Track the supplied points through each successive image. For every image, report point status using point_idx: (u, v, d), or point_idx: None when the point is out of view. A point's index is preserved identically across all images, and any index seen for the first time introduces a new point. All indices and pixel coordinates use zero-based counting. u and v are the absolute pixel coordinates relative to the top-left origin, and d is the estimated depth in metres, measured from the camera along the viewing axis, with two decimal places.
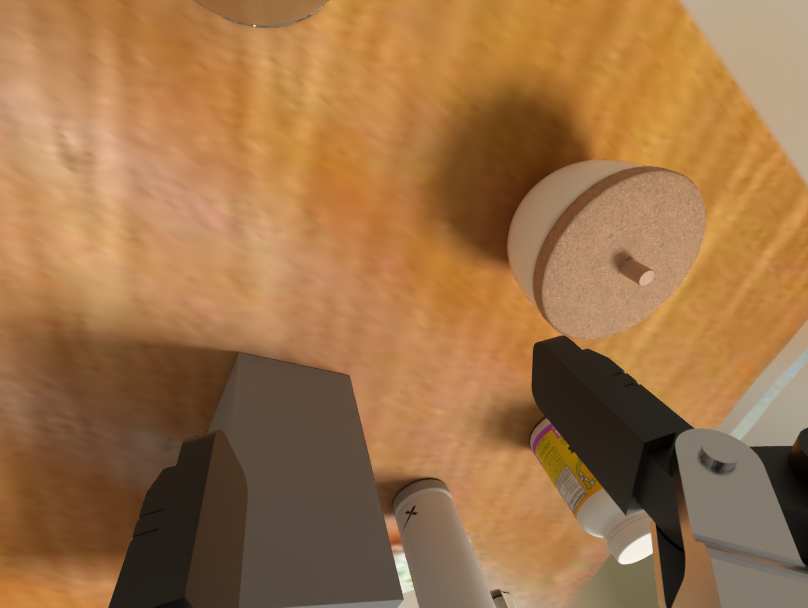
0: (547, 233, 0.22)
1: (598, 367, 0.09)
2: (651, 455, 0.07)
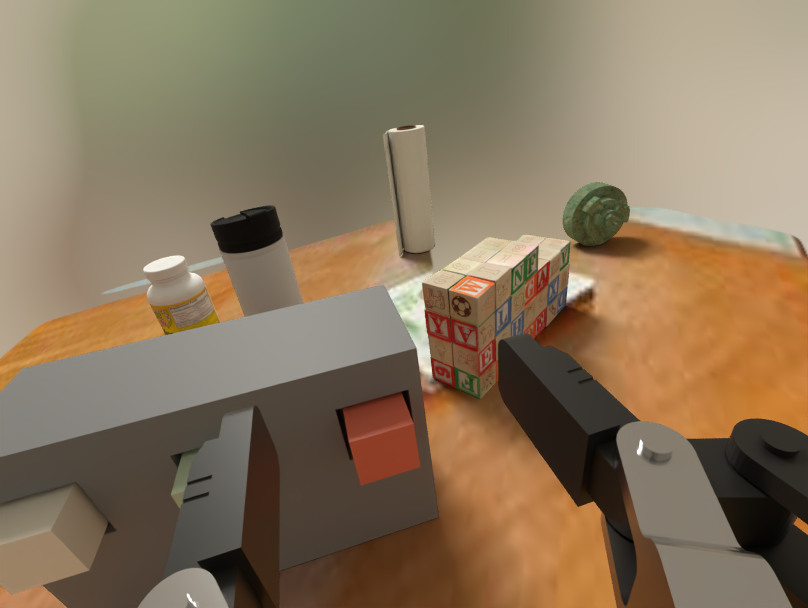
0: None
1: (555, 363, 0.09)
2: (597, 447, 0.08)
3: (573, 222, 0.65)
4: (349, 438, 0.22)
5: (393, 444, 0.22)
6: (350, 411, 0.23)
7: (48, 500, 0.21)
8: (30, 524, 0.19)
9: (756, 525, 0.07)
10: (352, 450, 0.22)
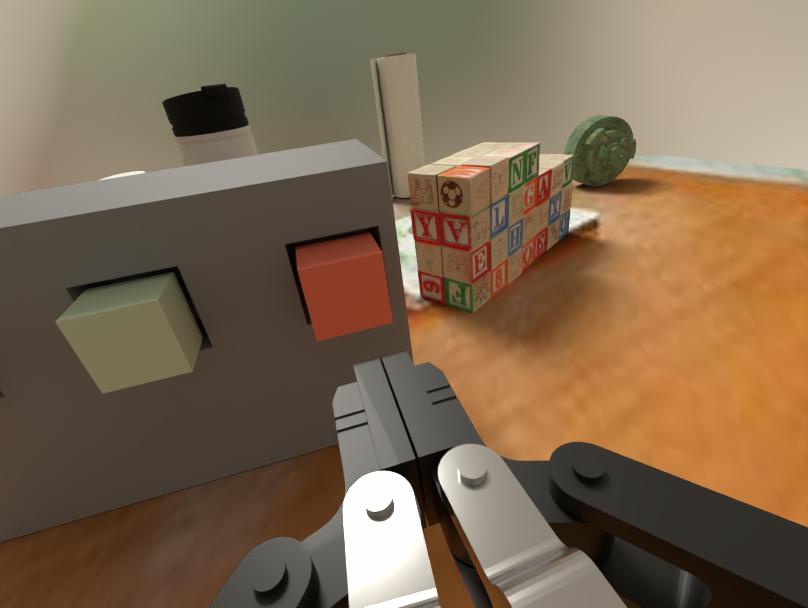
0: None
1: (418, 381, 0.09)
2: (431, 469, 0.08)
3: (575, 158, 0.60)
4: (298, 267, 0.17)
5: (356, 282, 0.17)
6: (304, 249, 0.19)
7: None
8: None
9: (594, 554, 0.07)
10: (302, 283, 0.17)
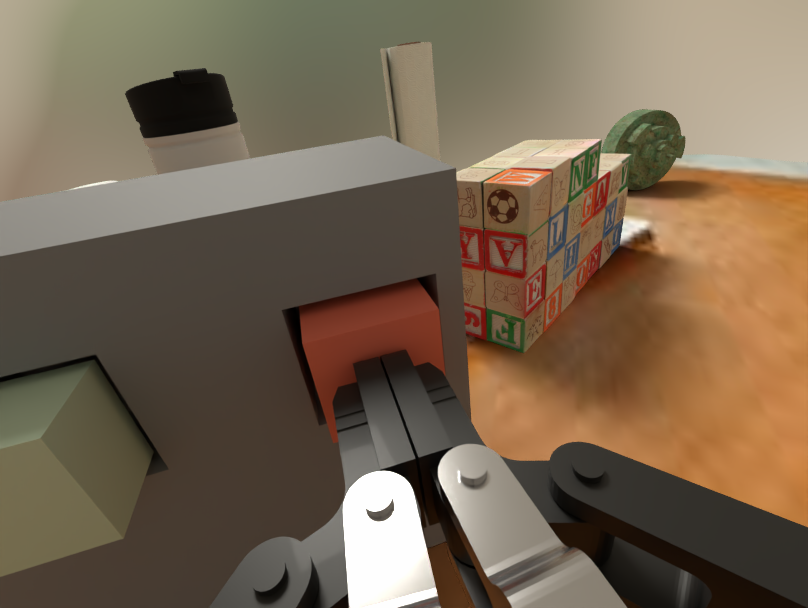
0: None
1: (418, 381, 0.09)
2: (431, 469, 0.08)
3: None
4: (304, 337, 0.10)
5: None
6: None
7: None
8: None
9: (594, 554, 0.07)
10: (311, 363, 0.10)
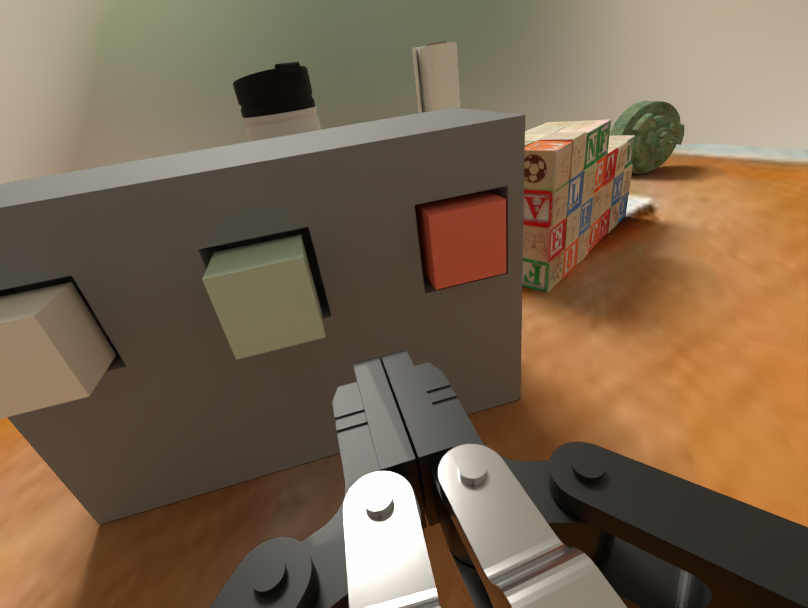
0: None
1: (418, 381, 0.09)
2: (431, 468, 0.08)
3: None
4: (427, 213, 0.17)
5: (479, 229, 0.18)
6: None
7: (33, 296, 0.15)
8: (6, 314, 0.14)
9: (594, 554, 0.07)
10: (431, 229, 0.17)
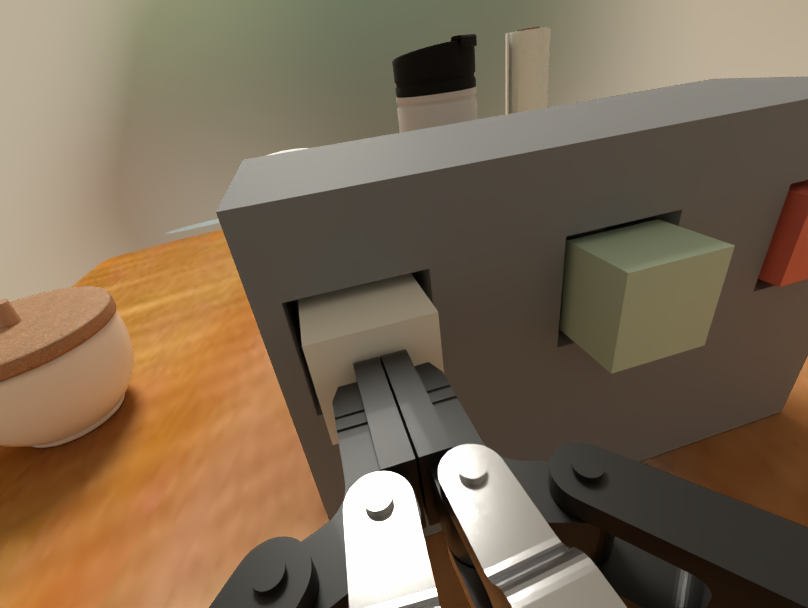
0: None
1: (418, 381, 0.09)
2: (431, 469, 0.08)
3: None
4: (807, 194, 0.14)
5: None
6: None
7: (386, 289, 0.12)
8: (387, 309, 0.11)
9: (594, 554, 0.07)
10: None
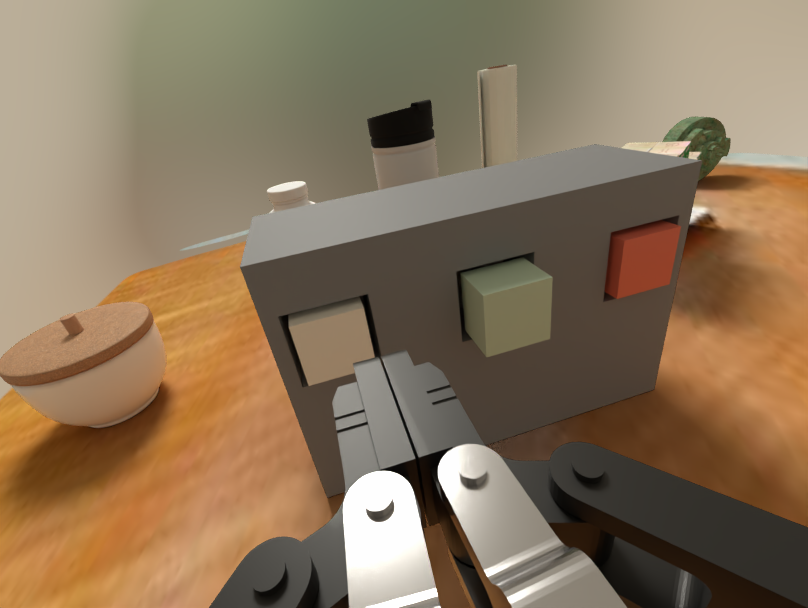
0: (61, 380, 0.29)
1: (418, 382, 0.09)
2: (431, 469, 0.08)
3: None
4: (621, 239, 0.22)
5: (657, 250, 0.23)
6: None
7: None
8: (337, 307, 0.20)
9: (594, 554, 0.07)
10: (624, 251, 0.22)
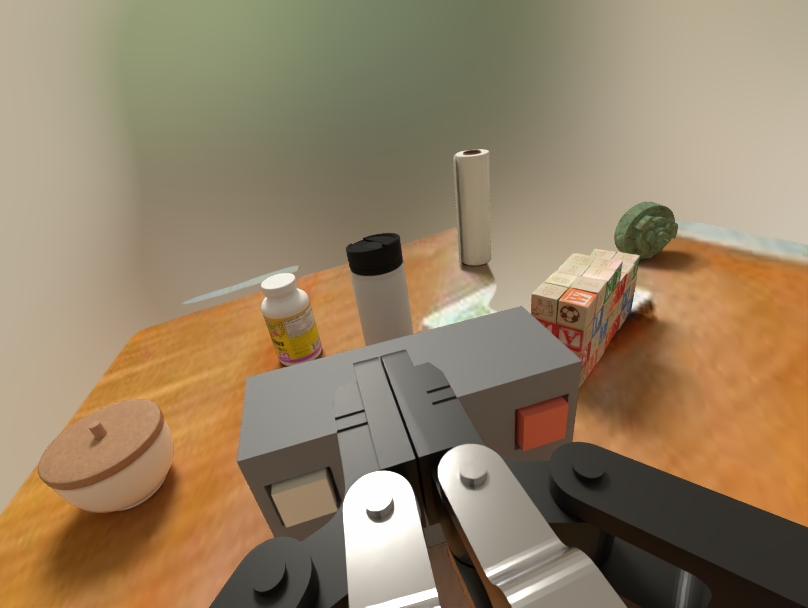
0: (92, 485, 0.37)
1: (418, 381, 0.09)
2: (431, 469, 0.08)
3: (626, 238, 0.71)
4: (523, 414, 0.29)
5: (551, 419, 0.30)
6: None
7: None
8: (307, 475, 0.27)
9: (594, 554, 0.07)
10: (524, 423, 0.29)
